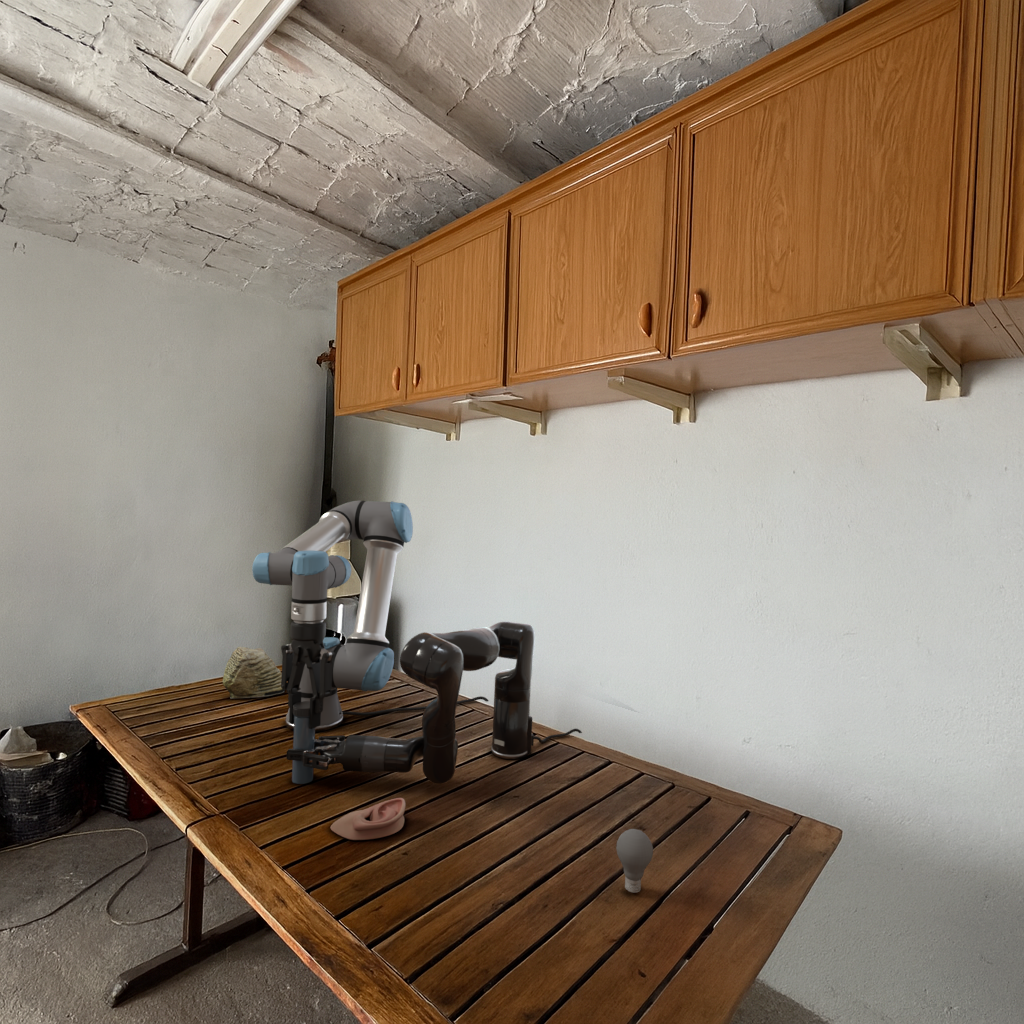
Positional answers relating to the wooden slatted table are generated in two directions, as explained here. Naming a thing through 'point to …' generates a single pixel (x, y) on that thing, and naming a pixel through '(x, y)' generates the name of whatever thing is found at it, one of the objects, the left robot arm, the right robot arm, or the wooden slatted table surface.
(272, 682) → the fossil
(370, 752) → the right robot arm
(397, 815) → the anatomical model
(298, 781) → the jar
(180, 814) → the wooden slatted table surface
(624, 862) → the light bulb
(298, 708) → the lid
